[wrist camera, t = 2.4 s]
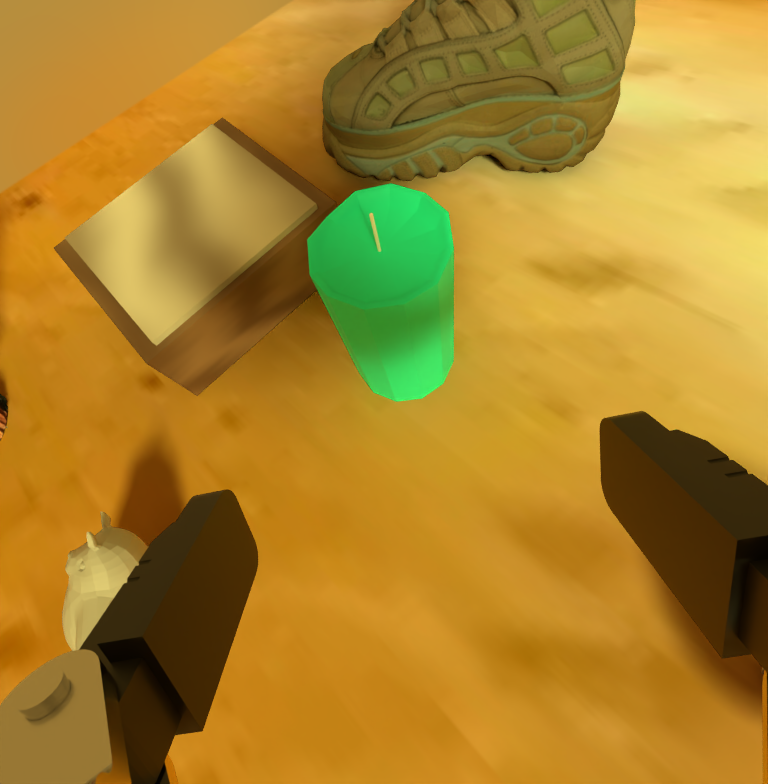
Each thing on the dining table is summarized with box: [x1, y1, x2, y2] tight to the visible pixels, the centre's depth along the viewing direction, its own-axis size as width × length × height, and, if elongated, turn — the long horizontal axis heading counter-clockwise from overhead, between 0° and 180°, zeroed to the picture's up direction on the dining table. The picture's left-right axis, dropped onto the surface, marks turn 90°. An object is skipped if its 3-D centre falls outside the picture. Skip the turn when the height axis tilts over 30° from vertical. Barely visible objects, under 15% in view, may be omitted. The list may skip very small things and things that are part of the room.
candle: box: [307, 183, 454, 402], centre depth 21 cm, size 6×6×12 cm
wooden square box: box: [54, 118, 337, 395], centre depth 29 cm, size 14×12×5 cm
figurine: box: [62, 512, 149, 651], centre depth 21 cm, size 8×6×8 cm
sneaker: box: [322, 0, 636, 181], centre depth 26 cm, size 11×19×15 cm, turn 69°
